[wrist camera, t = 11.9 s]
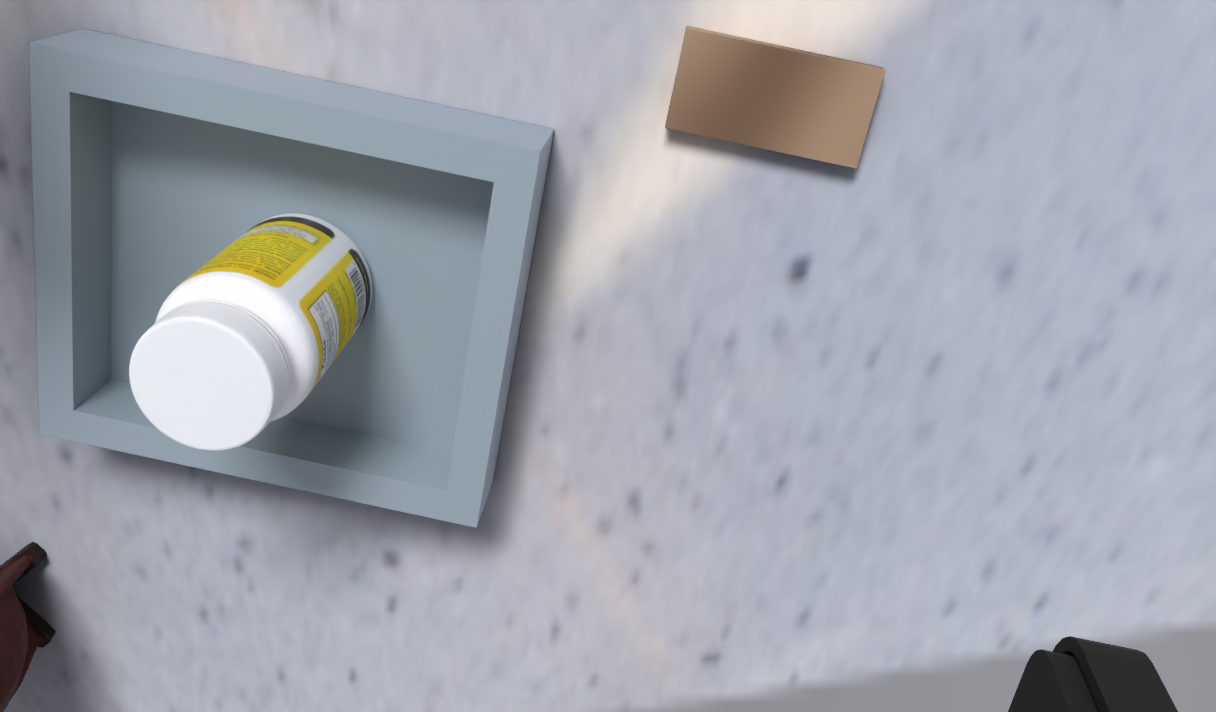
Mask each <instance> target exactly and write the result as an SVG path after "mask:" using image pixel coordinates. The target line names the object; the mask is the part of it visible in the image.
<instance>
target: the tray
mask: <svg viewBox="0 0 1216 712" xmlns="http://www.w3.org/2000/svg"><path fill="white" fill-rule="evenodd" d="M29 73H30V110H31V147H32V185H33V222H34V259H35V296H36V333H37V370H38V408H39V434H41V435H46V436H50V437H55V438H60V439H64V440H69V441H74V442H78V443H83V444H88V445H92V446H97V447H102V448H106V449H111V450H116V451H120V452H125V453H130V454H134V455H139V456H144V457H148V458H153V459H158V460H162V461H167V462H172V463H176V464H181V465H186V466H190V467H195V468H200V469H204V470H209V471H214V472H218V473H223V474H228V475H232V476H237V477H242V478H246V479H251V480H256V481H260V482H265V483H270V484H274V485H279V486H284V487H288V488H293V489H298V490H302V491H307V492H312V493H316V494H321V495H326V496H330V497H335V498H340V499H344V500H349V501H354V502H358V503H363V504H368V505H372V506H377V507H381V508H386V509H391V510H395V511H400V512H405V513H409V514H414V515H419V516H423V517H428V518H433V519H437V520H442V521H447V522H451V523H456V524H461V525H465V526H470V527H475V528H477V525H478V522H479V520H480V517H481V514H482V511H483V509H484V506H485V503H486V500H487V498H488V495H489V492H490V489H491V487H492V484H493V479H494V473H495V468H496V462H497V456H498V450H499V444H500V439H501V433H502V427H503V421H504V416H505V410H506V404H507V398H508V393H509V387H510V381H511V375H512V369H513V364H514V358H515V352H516V346H517V341H518V335H519V329H520V323H521V317H522V312H523V306H524V300H525V294H526V289H527V283H528V277H529V271H530V266H531V260H532V254H533V248H534V242H535V237H536V231H537V225H538V219H539V214H540V208H541V202H542V196H543V190H544V185H545V179H546V173H547V167H548V162H549V156H550V150H551V144H552V139H553V133H554V129H551V128H546V127H542V126H537V125H532V124H528V123H523V122H518V121H513V120H509V119H504V118H499V117H495V116H490V115H485V114H481V113H476V112H471V111H467V110H462V109H457V108H453V107H448V106H443V105H438V104H434V103H429V102H424V101H420V100H415V99H410V98H406V97H401V96H396V95H392V94H387V93H382V92H377V91H373V90H368V89H363V88H359V87H354V86H349V85H345V84H340V83H335V82H331V81H326V80H321V79H316V78H312V77H307V76H302V75H298V74H293V73H288V72H284V71H279V70H274V69H270V68H265V67H260V66H255V65H251V64H246V63H241V62H237V61H232V60H227V59H223V58H218V57H213V56H209V55H204V54H199V53H195V52H190V51H185V50H180V49H176V48H171V47H166V46H162V45H157V44H152V43H148V42H143V41H138V40H134V39H129V38H124V37H119V36H115V35H110V34H105V33H101V32H96V31H91V30H87V29H79V30H75V31H71V32H67V33H63V34H59V35H55V36H52V37H48V38H44V39H40V40H36V41H32V42H29ZM291 213H294V214H305V215H310V216H314V217H317V218H320V219H322V220H324V221H326V222H328V223H330V224H332V225H333V226H335V227H337V228H338V229H339V230H341V231H342V232H343V233H345V234H346V235H347V236H348V237H349V238H350V239H351V240H352V241H353V242H354V243H355V244H356V246H357V247H358V248H359V250H360V251H361V253H362V254H363V256H364V258H365V260H366V262H367V264H368V267H369V270H370V274H371V279H372V299H371V304H370V308H369V311H368V313H367V315H366V318H365V319H364V321H363V323H362V324H361V326H360V327H359V328H358V330H357V331H356V332H355V334H354V335H353V336H352V338H351V339H350V340H349V342H348V343H347V344H346V346H345V347H344V348H343V350H342V351H341V352H340V354H339V355H338V356H337V358H336V359H335V360H334V362H333V363H332V364H331V366H330V367H329V368H328V370H327V371H326V372H325V374H324V375H323V376H322V378H321V379H320V380H319V382H318V383H317V384H316V385H315V387H314V388H313V389H312V391H311V392H310V393H309V395H308V396H307V397H306V398H305V400H304V401H303V402H302V403H301V404H300V405H298V406H297V407H296V408H295V409H294V410H292V411H291V412H290V413H288V414H287V415H285V416H283V417H281V418H279V419H277V420H274V421H271V422H270V423H269V424H268V425H267V426H266V427H265V428H264V429H263V430H262V431H261V432H260V433H259V434H258V435H257V436H256V437H255V438H253V439H252V440H250V441H249V442H247V443H245V444H243V445H241V446H239V447H236V448H232V449H227V450H220V451H211V450H202V449H196V448H193V447H189V446H186V445H183V444H181V443H179V442H177V441H175V440H173V439H171V438H170V437H168V436H166V435H165V434H164V433H162V432H161V431H160V430H158V429H157V428H156V427H155V426H154V425H153V424H152V423H151V422H150V421H149V420H148V418H147V417H146V416H145V415H144V413H143V412H142V411H141V409H140V407H139V406H138V404H137V402H136V400H135V398H134V395H133V392H132V389H131V385H130V377H129V365H130V359H131V355H132V352H133V350H134V348H135V346H136V344H137V342H138V341H139V339H140V338H141V336H142V335H143V334H144V333H145V332H146V331H147V330H148V329H149V328H150V327H151V326H153V325H154V324H155V321H156V318H157V315H158V313H159V310H160V308H161V306H162V305H163V303H164V301H165V300H166V299H167V297H168V296H169V295H170V294H171V292H172V291H173V290H174V289H175V288H176V287H177V286H179V285H180V284H181V283H182V282H183V281H185V280H186V279H187V278H188V277H190V276H191V275H192V274H194V273H195V272H196V271H198V270H199V269H200V268H201V267H203V266H204V265H205V264H206V263H208V262H209V261H210V260H211V259H213V258H214V257H215V256H217V255H218V254H219V253H220V252H222V251H223V250H224V249H225V248H227V247H228V246H229V245H230V244H232V243H233V242H234V241H235V240H237V239H238V238H239V237H241V236H242V235H243V234H244V233H246V232H247V231H248V230H249V229H251V228H252V227H254V226H255V225H257V224H258V223H260V222H262V221H263V220H266V219H268V218H270V217H273V216H277V215H282V214H291Z"/></svg>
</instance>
